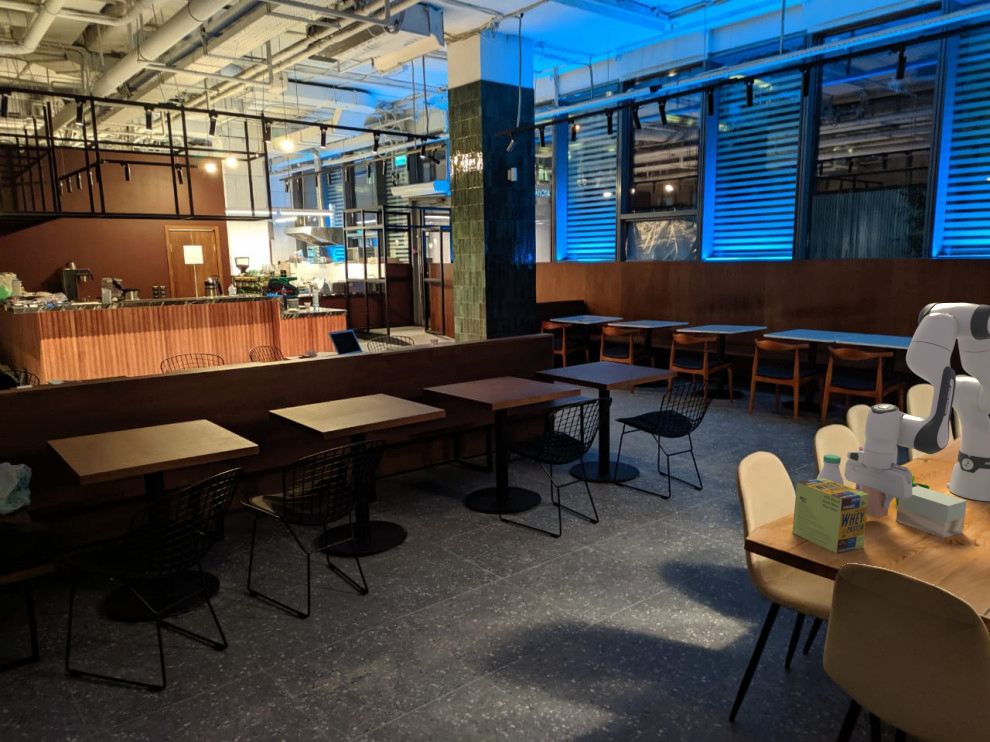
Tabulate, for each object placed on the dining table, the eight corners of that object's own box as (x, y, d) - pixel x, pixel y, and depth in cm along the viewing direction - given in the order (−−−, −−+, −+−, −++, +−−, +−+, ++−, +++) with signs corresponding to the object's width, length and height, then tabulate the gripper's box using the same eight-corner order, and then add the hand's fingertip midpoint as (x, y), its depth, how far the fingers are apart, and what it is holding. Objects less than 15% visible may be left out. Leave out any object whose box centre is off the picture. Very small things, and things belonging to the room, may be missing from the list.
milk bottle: (807, 515, 211) (812, 452, 208) (831, 515, 212) (837, 452, 208) (821, 525, 203) (827, 460, 200) (846, 524, 204) (852, 459, 201)
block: (872, 509, 210) (875, 484, 208) (887, 515, 205) (890, 489, 204) (860, 512, 208) (863, 486, 206) (875, 517, 203) (878, 492, 202)
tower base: (915, 517, 211) (916, 501, 210) (962, 534, 199) (964, 517, 198) (895, 522, 207) (897, 506, 207) (942, 539, 195) (944, 522, 194)
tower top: (916, 501, 210) (918, 486, 210) (964, 517, 198) (966, 500, 197) (897, 506, 206) (899, 490, 205) (946, 522, 194) (948, 505, 193)
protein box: (836, 554, 184) (842, 499, 181) (791, 533, 198) (795, 481, 195) (864, 548, 188) (870, 493, 185) (818, 527, 202) (822, 476, 199)
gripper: (920, 467, 195) (915, 514, 198) (857, 449, 214) (853, 491, 216) (904, 470, 193) (899, 517, 195) (842, 451, 211) (839, 494, 214)
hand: (875, 503), depth 206 cm, fingers closed on block, 5 cm apart
